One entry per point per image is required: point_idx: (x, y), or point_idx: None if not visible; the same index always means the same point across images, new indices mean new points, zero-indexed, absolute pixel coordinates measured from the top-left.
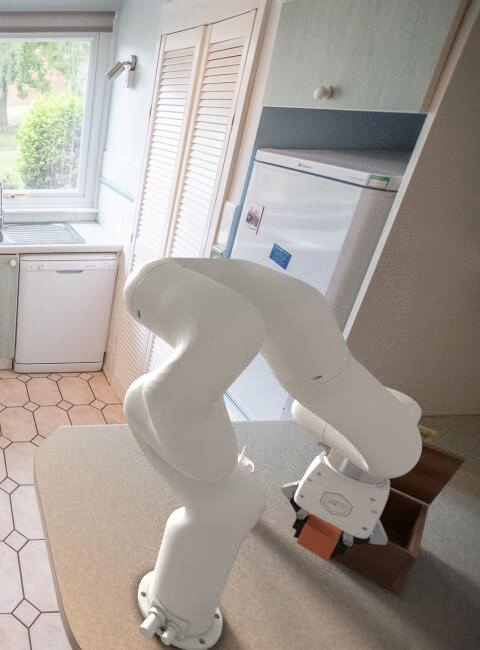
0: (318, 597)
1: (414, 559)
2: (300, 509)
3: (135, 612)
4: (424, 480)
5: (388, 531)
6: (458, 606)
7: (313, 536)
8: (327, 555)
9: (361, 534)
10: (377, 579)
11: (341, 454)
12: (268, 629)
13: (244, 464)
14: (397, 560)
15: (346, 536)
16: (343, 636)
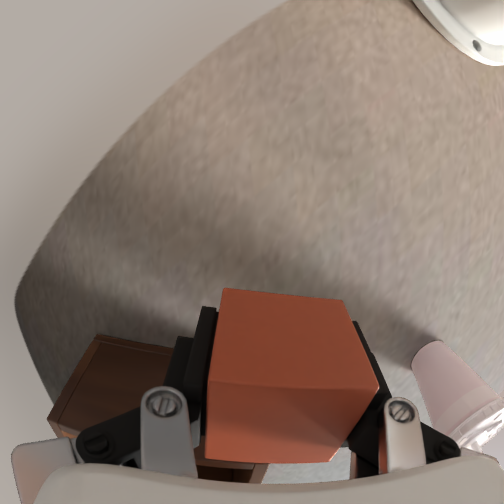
0: (217, 203)
1: (51, 413)
2: (423, 443)
3: None
4: None
5: None
6: (40, 357)
7: (316, 352)
8: (230, 303)
9: (70, 500)
10: (123, 345)
11: None
12: (315, 15)
13: (467, 446)
14: (83, 399)
15: (175, 435)
16: (150, 121)
